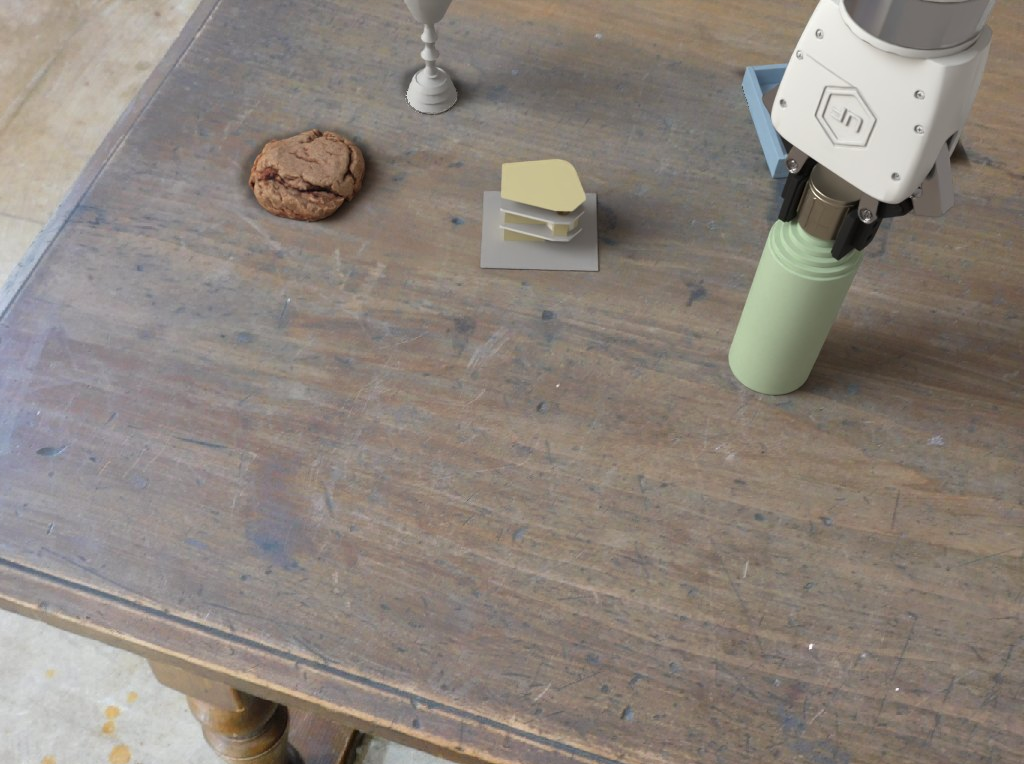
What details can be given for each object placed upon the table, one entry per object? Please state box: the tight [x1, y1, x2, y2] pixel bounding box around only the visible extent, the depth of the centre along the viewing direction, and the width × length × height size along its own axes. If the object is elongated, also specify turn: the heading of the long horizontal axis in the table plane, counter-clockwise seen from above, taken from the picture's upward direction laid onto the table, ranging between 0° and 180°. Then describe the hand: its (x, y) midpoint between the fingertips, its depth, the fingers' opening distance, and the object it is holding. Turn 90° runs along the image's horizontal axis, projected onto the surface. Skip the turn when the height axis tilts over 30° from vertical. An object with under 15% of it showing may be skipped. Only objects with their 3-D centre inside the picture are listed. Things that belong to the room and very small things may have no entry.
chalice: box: [403, 0, 458, 113], centre depth 95 cm, size 7×7×18 cm
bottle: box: [728, 216, 865, 396], centre depth 77 cm, size 6×6×20 cm
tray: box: [741, 62, 789, 179], centre depth 98 cm, size 15×12×2 cm
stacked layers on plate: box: [479, 158, 599, 272], centre depth 91 cm, size 10×9×6 cm
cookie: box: [248, 128, 366, 223], centre depth 96 cm, size 10×11×3 cm
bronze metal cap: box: [797, 163, 862, 241], centre depth 70 cm, size 4×4×4 cm
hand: (822, 227), depth 72 cm, fingers closed on bronze metal cap, 3 cm apart
